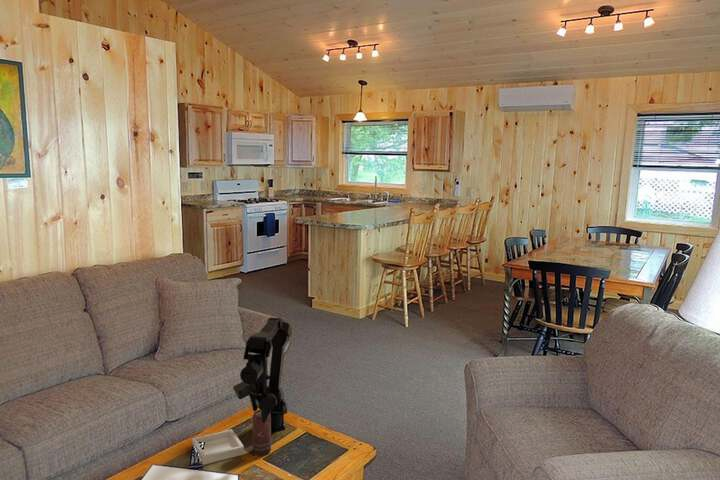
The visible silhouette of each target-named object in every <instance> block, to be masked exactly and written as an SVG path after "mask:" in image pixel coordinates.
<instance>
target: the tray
mask: <svg viewBox="0 0 720 480" xmlns="http://www.w3.org/2000/svg"><path fill="white" fill-rule="evenodd" d="M191 441H192V446H193V445H194V446H195V448H196V450H197V452H198V454H199V457H200V459H201V461H200V463H201V462H202V463H201V465H202V466H205V465H209V464H212V463H215V462H220V461H224V460H227V459H232V458H234V457H235V458H236V457H239V456H243V455H245V446H244V444H243V443H242V441H241V440H240V439H239V438H238V436H237V435H236V432H235V431H234V430H233V429H228V430H226V429H225V430H223V431H219V432H213V433H209V434H205V435H201V436H197V437H193V438H192V440H191ZM199 442H205V445H204V449H203V451H202V449H201V447H200V445H199ZM199 457H198V458H199ZM200 459H199V460H200Z"/></svg>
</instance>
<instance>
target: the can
mask: <svg viewBox="0 0 720 480" xmlns="http://www.w3.org/2000/svg"><path fill="white" fill-rule="evenodd" d="M253 412H254V413H253V415H252V452H253V454H254V455H255V456H259V457H263V456H267V455H268V454H270V453H271V451H272V432H271V414H269V416H268V418H267V420H266V422H262V419H261V413H260V409H259V410H258V409H257V411H253Z"/></svg>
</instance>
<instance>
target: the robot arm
mask: <svg viewBox="0 0 720 480" xmlns="http://www.w3.org/2000/svg"><path fill="white" fill-rule="evenodd" d="M292 333H293V329H292V327H291V325H290V323H288V322H286V321H285V320H283V318H281V317H269V318H267V322H266V323H265V324H264V326H263V327H262V328H261V330H260V331H259V332H256V333H253V334H251V335H250V336H249V337H248V339H247V341H246V343H245V348H244V354H243V358H242V359H243V360H246V361H247V362H246V363H245V364H246V365H245V366H244V367H243V368H242V369H241V370H240V373H239V376H240V380H241V382H240V383H237V384H235V385H234V386H233V387H232V389H233V391H234V394H235V396H236V397H237V398H238V400H242V399H244V398H246V397H249V400H250V404H251V407H252V410H253V412H256V411H258V409H259V410H260V413H261V419H262V422H266V420H267V418H268V416H269V414H271V433H274V432H275V433H277V432H279V431H284V430H286V427H285V422H284V421H285V419H284V417H285V414H288V404H287V401H286V399H285V393H284V391H283V389H282V378H283V366H284V359H285V358H284V357H285V348H286V347H287V346H288V343H289V342H290V340H291V337H292ZM270 356H271V358H270ZM268 358H270V359H271V360H270V366H268V363H269V362H268ZM268 367H270V368H269V372H268ZM268 373H269V374H268Z"/></svg>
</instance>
